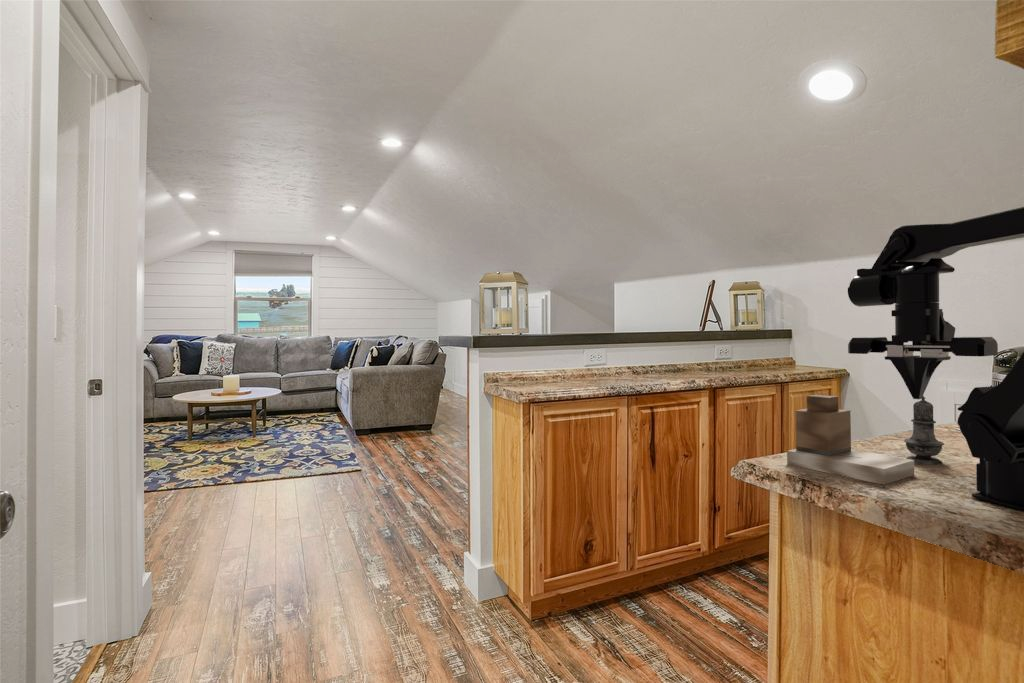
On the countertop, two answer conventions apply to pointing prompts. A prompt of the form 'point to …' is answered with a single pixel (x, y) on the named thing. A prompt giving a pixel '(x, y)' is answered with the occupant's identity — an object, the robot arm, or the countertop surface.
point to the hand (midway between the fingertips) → (917, 398)
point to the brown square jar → (823, 427)
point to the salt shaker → (923, 435)
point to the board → (856, 465)
